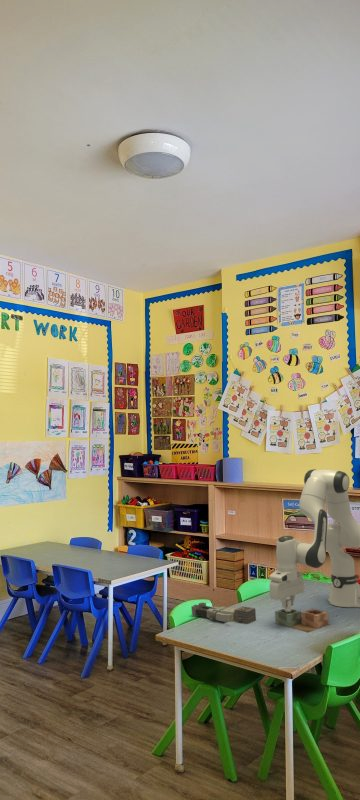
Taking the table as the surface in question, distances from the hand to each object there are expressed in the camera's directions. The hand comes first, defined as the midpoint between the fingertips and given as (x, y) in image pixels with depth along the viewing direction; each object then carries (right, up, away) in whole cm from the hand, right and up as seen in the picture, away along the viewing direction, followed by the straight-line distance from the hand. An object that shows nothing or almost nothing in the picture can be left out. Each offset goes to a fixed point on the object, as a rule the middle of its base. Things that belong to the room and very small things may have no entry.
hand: (288, 606), depth 249 cm
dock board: (+6, -8, -2) cm, 10 cm away
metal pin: (0, -7, -1) cm, 7 cm away
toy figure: (-27, -11, +11) cm, 31 cm away
